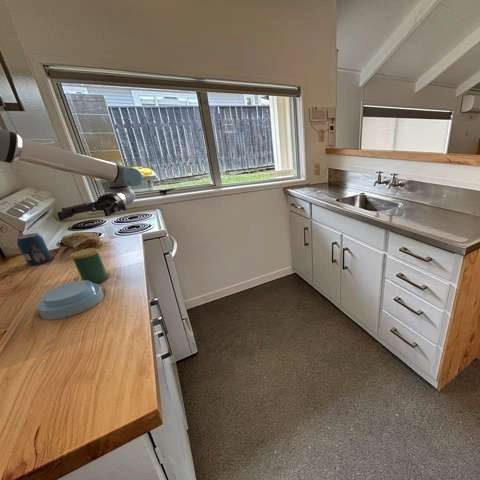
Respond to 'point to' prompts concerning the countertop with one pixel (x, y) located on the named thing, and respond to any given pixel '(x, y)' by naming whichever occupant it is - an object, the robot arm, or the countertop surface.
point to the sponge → (81, 240)
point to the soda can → (34, 249)
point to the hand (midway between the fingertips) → (82, 214)
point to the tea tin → (90, 265)
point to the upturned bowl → (69, 299)
